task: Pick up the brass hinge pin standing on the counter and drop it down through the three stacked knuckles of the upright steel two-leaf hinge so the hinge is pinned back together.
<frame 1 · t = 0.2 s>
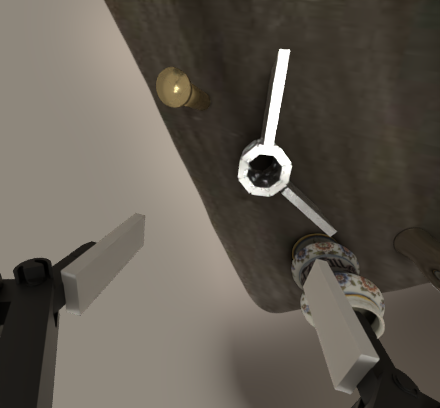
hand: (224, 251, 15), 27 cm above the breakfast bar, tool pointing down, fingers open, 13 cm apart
hinge swing leaf: (284, 184, 34), point 6 cm above the breakfast bar, hinge at 55.0°
beer glass: (410, 240, 41), on the breakfast bar
brass pin: (202, 101, 37), on the breakfast bar
apothecary jar: (315, 252, 45), on the breakfast bar
hinge fixed leaf: (260, 158, 39), on the breakfast bar
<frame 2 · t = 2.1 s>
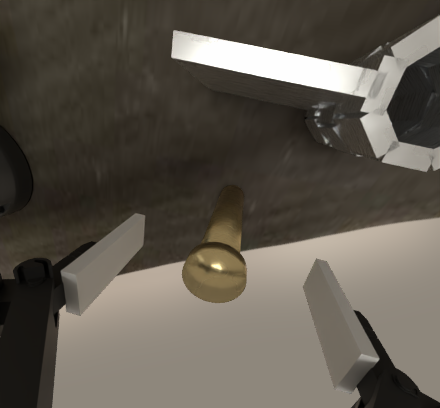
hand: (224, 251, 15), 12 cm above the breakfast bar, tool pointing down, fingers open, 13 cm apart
brass pin: (232, 196, 26), on the breakfast bar
hinge fixed leaf: (341, 110, 21), on the breakfast bar
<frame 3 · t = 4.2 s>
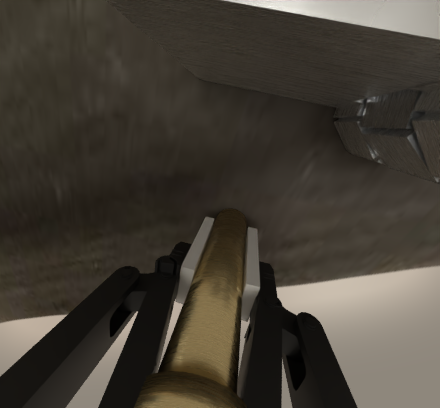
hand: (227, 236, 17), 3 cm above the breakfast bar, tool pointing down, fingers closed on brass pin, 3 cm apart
brass pin: (230, 222, 20), on the breakfast bar, touching gripper
hinge fixed leaf: (389, 108, 15), on the breakfast bar
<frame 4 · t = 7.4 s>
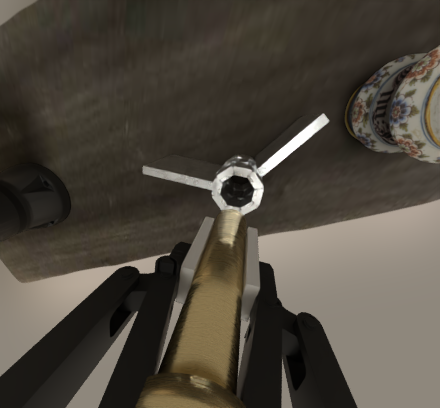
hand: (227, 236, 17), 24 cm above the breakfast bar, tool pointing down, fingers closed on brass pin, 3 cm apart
hinge swing leaf: (264, 159, 32), point 6 cm above the breakfast bar, hinge at 55.0°
brass pin: (230, 223, 20), point 22 cm above the breakfast bar, touching gripper
apothecary jar: (377, 110, 33), on the breakfast bar
hinge fixed leaf: (241, 172, 40), on the breakfast bar
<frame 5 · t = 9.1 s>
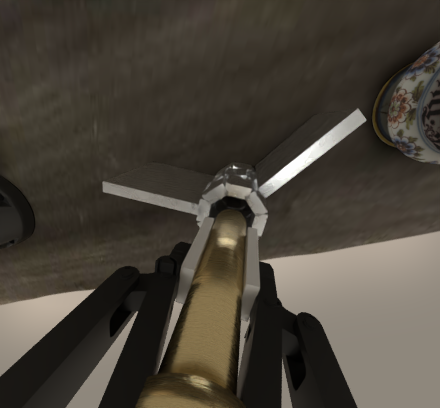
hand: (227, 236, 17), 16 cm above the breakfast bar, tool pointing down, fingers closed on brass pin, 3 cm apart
hinge swing leaf: (267, 171, 24), point 6 cm above the breakfast bar, hinge at 55.0°
brass pin: (230, 223, 20), point 13 cm above the breakfast bar, touching gripper
apothecary jar: (415, 106, 25), on the breakfast bar
hinge fixed leaf: (238, 185, 32), on the breakfast bar
when the fingers open (14 cm above the breakfast bar, at t = 10.6 s): brass pin drops 11 cm, resting in hinge fixed leaf.
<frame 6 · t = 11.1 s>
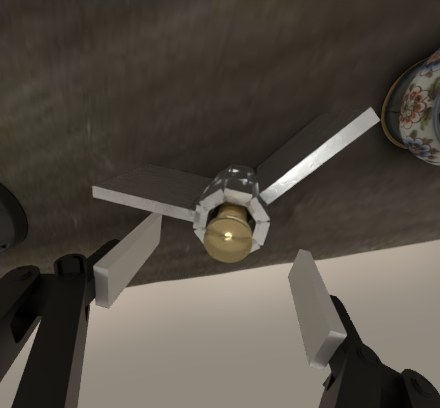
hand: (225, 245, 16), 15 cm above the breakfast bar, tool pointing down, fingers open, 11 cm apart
hinge swing leaf: (269, 175, 23), point 6 cm above the breakfast bar, hinge at 55.0°
brass pin: (237, 188, 30), resting in hinge fixed leaf
apothecary jar: (427, 105, 24), on the breakfast bar
hinge fixed leaf: (238, 188, 30), on the breakfast bar
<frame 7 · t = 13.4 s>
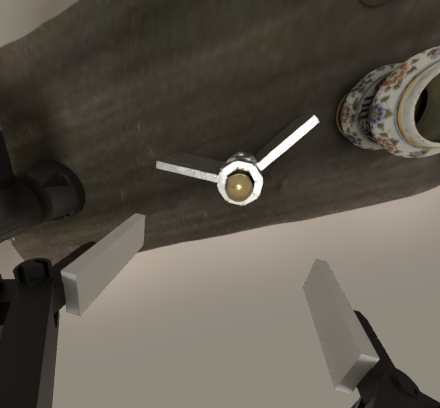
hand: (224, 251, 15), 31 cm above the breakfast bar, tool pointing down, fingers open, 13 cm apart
hinge swing leaf: (263, 156, 36), point 6 cm above the breakfast bar, hinge at 55.0°
brass pin: (242, 168, 44), resting in hinge fixed leaf
apothecary jar: (365, 112, 37), on the breakfast bar
hinge fixed leaf: (242, 168, 44), on the breakfast bar
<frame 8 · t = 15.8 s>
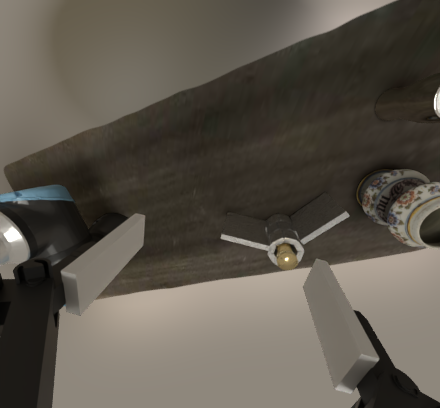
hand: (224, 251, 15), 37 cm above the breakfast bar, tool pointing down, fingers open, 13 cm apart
hinge swing leaf: (300, 225, 46), point 6 cm above the breakfast bar, hinge at 55.0°
beer glass: (391, 104, 41), on the breakfast bar
brass pin: (278, 226, 54), resting in hinge fixed leaf
apothecary jar: (379, 190, 47), on the breakfast bar
hinge fixed leaf: (278, 226, 54), on the breakfast bar
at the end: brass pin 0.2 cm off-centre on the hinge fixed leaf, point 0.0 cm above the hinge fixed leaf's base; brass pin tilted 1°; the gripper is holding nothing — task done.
